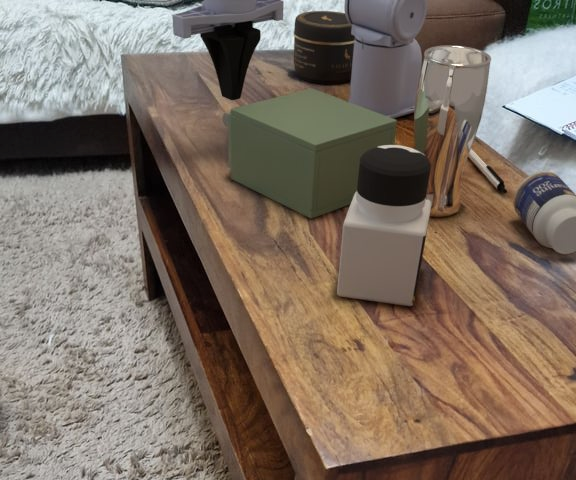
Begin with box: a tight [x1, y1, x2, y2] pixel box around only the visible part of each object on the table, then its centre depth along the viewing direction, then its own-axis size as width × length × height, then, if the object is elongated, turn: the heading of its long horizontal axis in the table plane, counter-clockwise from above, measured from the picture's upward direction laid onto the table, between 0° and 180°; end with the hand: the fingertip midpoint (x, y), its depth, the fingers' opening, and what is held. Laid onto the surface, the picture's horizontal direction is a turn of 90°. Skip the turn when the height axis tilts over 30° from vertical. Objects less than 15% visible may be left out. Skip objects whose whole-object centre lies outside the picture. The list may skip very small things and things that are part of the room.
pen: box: [467, 148, 508, 194], centre depth 95 cm, size 1×19×1 cm, turn 10°
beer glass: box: [413, 44, 492, 218], centre depth 81 cm, size 7×7×15 cm
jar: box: [293, 10, 355, 85], centre depth 116 cm, size 10×10×8 cm
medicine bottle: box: [336, 144, 431, 307], centre depth 69 cm, size 7×7×12 cm
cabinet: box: [230, 87, 398, 220], centre depth 86 cm, size 13×12×8 cm
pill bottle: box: [513, 170, 576, 255], centre depth 79 cm, size 5×5×10 cm
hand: (231, 97), depth 92 cm, fingers closed
